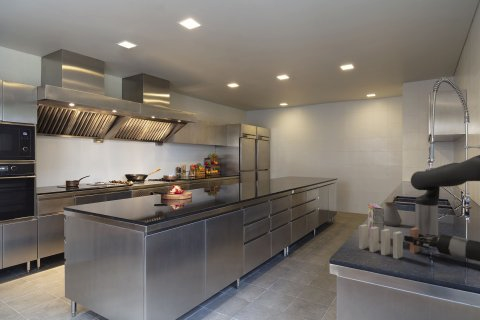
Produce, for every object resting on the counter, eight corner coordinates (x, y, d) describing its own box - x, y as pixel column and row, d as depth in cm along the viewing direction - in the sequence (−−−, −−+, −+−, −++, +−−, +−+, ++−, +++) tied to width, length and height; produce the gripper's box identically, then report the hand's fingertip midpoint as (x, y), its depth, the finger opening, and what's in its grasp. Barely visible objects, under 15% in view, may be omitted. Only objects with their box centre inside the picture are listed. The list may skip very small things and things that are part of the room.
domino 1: (364, 246, 131) (364, 224, 131) (367, 247, 130) (367, 225, 130) (358, 248, 129) (358, 225, 128) (362, 249, 127) (362, 226, 127)
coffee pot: (400, 228, 164) (400, 201, 164) (378, 225, 171) (378, 199, 171) (406, 221, 181) (405, 197, 181) (385, 218, 188) (385, 195, 188)
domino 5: (414, 250, 125) (414, 227, 125) (418, 251, 124) (418, 228, 124) (409, 252, 122) (409, 228, 122) (414, 253, 121) (414, 229, 121)
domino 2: (375, 249, 127) (375, 226, 127) (378, 250, 126) (378, 227, 126) (369, 251, 124) (369, 228, 124) (373, 252, 123) (373, 228, 123)
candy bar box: (367, 235, 149) (367, 203, 149) (377, 236, 148) (377, 204, 148) (372, 242, 138) (372, 207, 138) (384, 242, 137) (384, 207, 137)
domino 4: (398, 255, 119) (398, 231, 119) (402, 256, 118) (402, 232, 117) (393, 257, 116) (393, 232, 116) (397, 258, 115) (397, 233, 115)
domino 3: (386, 252, 123) (386, 228, 123) (390, 253, 122) (390, 229, 122) (380, 254, 120) (380, 230, 120) (384, 255, 119) (384, 231, 119)
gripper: (461, 233, 115) (416, 225, 129) (446, 239, 107) (400, 230, 121) (461, 252, 116) (416, 242, 129) (446, 259, 107) (400, 248, 121)
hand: (408, 236), depth 125 cm, fingers open, 6 cm apart
